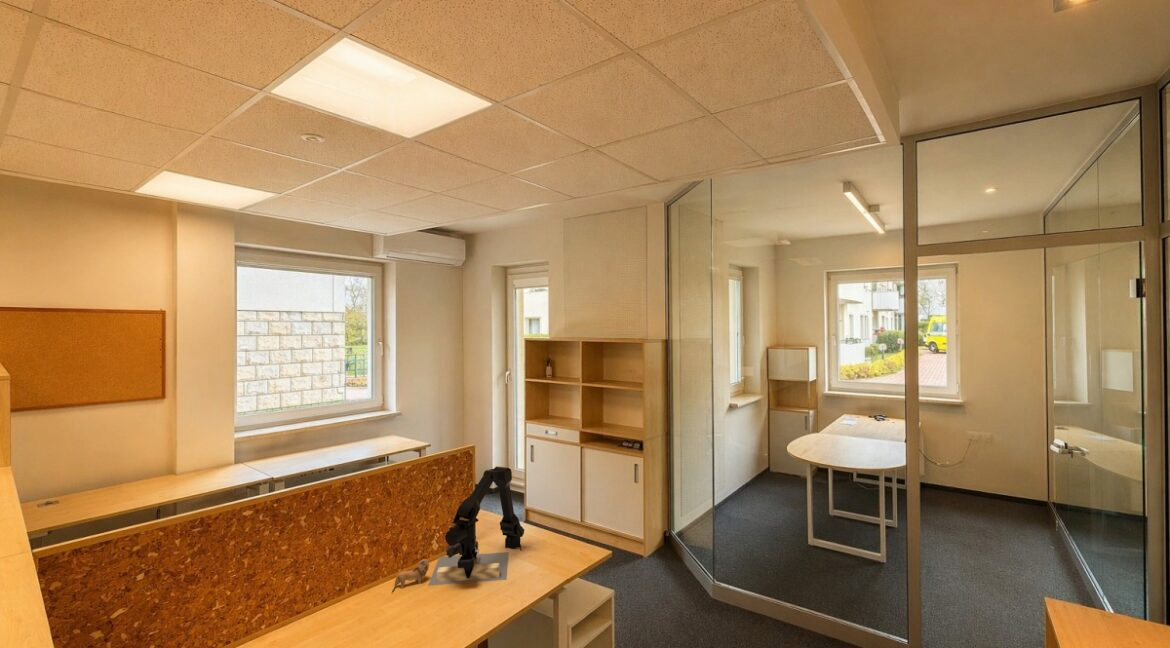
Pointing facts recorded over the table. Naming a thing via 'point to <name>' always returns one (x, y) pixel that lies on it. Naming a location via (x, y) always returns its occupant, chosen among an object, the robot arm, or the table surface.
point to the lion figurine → (412, 574)
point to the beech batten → (477, 573)
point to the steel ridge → (477, 557)
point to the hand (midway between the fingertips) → (468, 575)
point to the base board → (483, 559)
